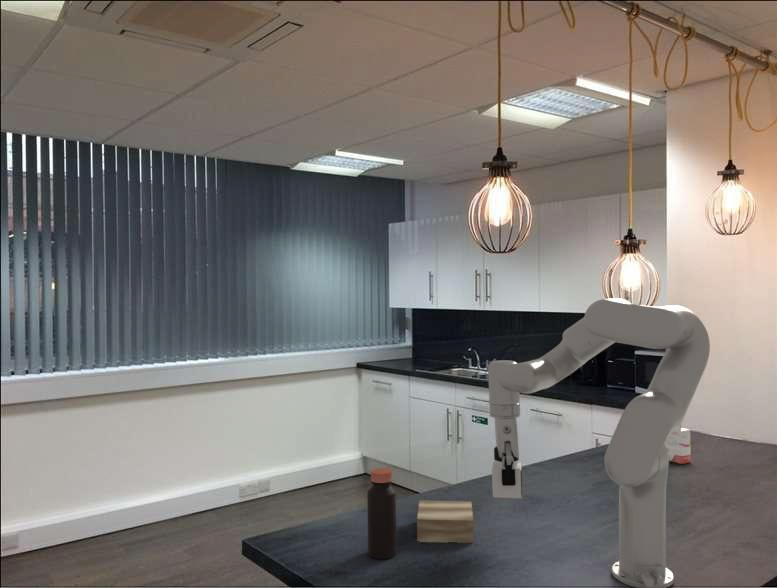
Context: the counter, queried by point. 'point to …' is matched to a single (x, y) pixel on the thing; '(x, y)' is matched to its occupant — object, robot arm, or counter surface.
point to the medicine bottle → (497, 486)
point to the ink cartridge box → (679, 446)
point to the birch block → (445, 521)
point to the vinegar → (381, 515)
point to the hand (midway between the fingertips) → (507, 479)
